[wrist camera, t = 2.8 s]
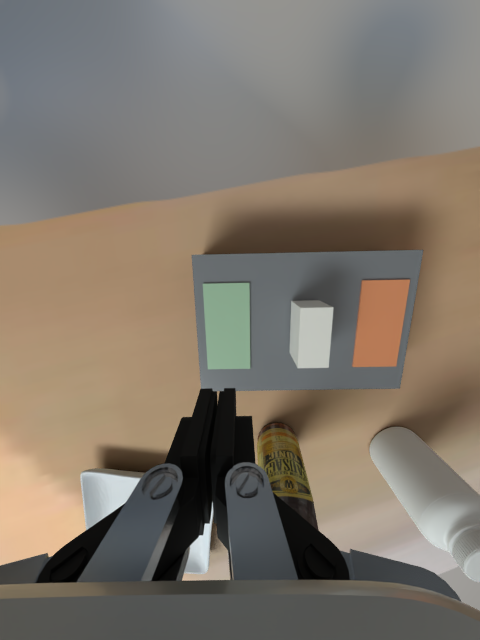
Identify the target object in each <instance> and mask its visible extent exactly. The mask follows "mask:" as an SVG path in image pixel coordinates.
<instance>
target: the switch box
mask: <svg viewBox="0 0 480 640" xmlns="http://www.w3.org/2000/svg"><path fill="white" fill-rule="evenodd" d="M422 255H423V250H394V251H348V252H302V253H256V254H211V255H192V266H193V280H194V295H195V309H196V323H197V337H198V352H199V366H200V380H201V389H205V388H212V389H213V391H224V388H235V390H236V391H257V390H326V389H396V388H400V384H401V378H402V373H403V367H404V361H405V355H406V349H407V343H408V337H409V331H410V325H411V320H412V314H413V308H414V302H415V296H416V290H417V284H418V278H419V272H420V266H421V261H422ZM304 300H320V301H322V302H324V303H326V304H328V305H330V306H332V307H334V308H333V320H332V332H331V345H330V357H329V368H297V366H296V364H295V362H294V360H293V358H292V356H291V355H290V353H289V351H290V323H291V301H304Z"/></svg>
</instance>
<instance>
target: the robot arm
mask: <svg viewBox="0 0 480 640" xmlns="http://www.w3.org/2000/svg"><path fill="white" fill-rule="evenodd" d="M212 502H213V514H214V523H217V536H218V538H219V539H220V541H221V542H222V543H223V544H224V546H225V547H226V548H227V550H228V560H229V572H230V580H206V581H182V578H183V574H184V571H185V567H186V564H187V561H188V557H189V552H190V545H191V544H192V543H193V542H194V541H195V540H196V539H197V538H198V537H199V535H203V533H204V525H205V524H210V519H211V511H212ZM0 640H480V611H479V610H477V609H475V608H473V607H471V606H469V605H467V604H465V603H463V602H461V600H460V598H459V597H458V595H457V594H456V592H455V591H454V590H453V589H452V588H451V587H450V586H449V585H448V584H447V583H446V582H445V581H444V580H443V579H441V578H440V577H439V576H437V575H436V574H435V573H433V572H431V571H429V570H427V569H424V568H422V567H418V566H414V565H410V564H406V563H402V562H399V561H395V560H391V559H387V558H383V557H379V556H375V555H372V554H368V553H364V552H360V551H356V550H352V549H350V553H347V552H343V551H339V549H338V548H337V547H336V546H335V545H334V544H333V543H332V542H331V541H330V540H329V539H328V538H326V537H325V536H324V535H323V534H322V533H321V532H319V531H318V530H317V529H316V528H315V527H314V526H312V525H311V524H310V523H309V522H308V521H306V520H305V519H304V518H303V517H302V516H301V515H299V514H298V513H297V512H296V511H295V510H293V509H292V508H291V507H290V506H289V505H288V504H286V503H285V502H284V501H283V500H282V499H280V498H279V497H278V496H277V495H276V494H275V493H273V492H272V489H271V485H270V482H269V478H268V476H267V474H266V472H265V471H264V470H263V469H262V468H261V467H260V466H258V465H257V464H255V452H254V439H253V425H252V416H236V390H235V388H224V391H220V393H219V400H218V405H217V391H213V389H212V388H205V389H201V390H200V393H199V396H198V399H197V402H196V406H195V409H194V412H193V415H192V417H183V418H182V419H181V421H180V424H179V426H178V429H177V432H176V434H175V437H174V440H173V442H172V445H171V448H170V450H169V453H168V456H167V458H166V461H165V464H161V465H157V466H155V467H153V468H151V469H150V470H149V471H147V472H146V473H145V474H144V475H143V476H142V478H141V479H140V480H139V482H138V484H137V485H136V487H135V488H134V490H133V492H132V493H131V495H130V497H129V498H128V500H127V501H126V503H125V504H123V505H122V506H120V507H119V508H118V509H116V510H115V511H113V512H112V513H110V514H109V515H108V516H106V517H105V518H103V519H102V520H100V521H99V522H98V523H96V524H95V525H93V526H92V527H90V528H89V529H88V530H86V531H85V532H83V533H82V534H80V535H79V536H78V537H76V538H75V539H73V540H72V541H70V542H69V543H68V544H66V545H65V546H64V547H62V548H61V549H60V550H59V551H58V552H56V553H55V554H54V555H53V556H52V557H48V554H47V553H46V554H42V555H38V556H35V557H31V558H27V559H23V560H20V561H16V562H12V563H9V564H5V565H1V566H0Z"/></svg>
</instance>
